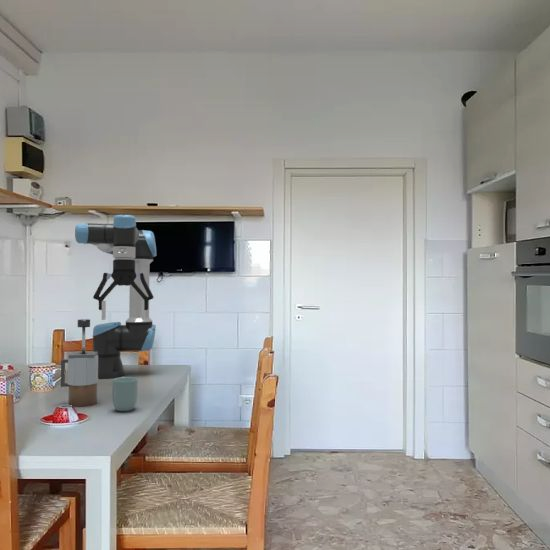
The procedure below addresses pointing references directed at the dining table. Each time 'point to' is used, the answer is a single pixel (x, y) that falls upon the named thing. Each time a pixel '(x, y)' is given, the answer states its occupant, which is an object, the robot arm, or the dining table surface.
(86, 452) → the dining table surface
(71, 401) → the carafe
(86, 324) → the plunger
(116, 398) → the cup
